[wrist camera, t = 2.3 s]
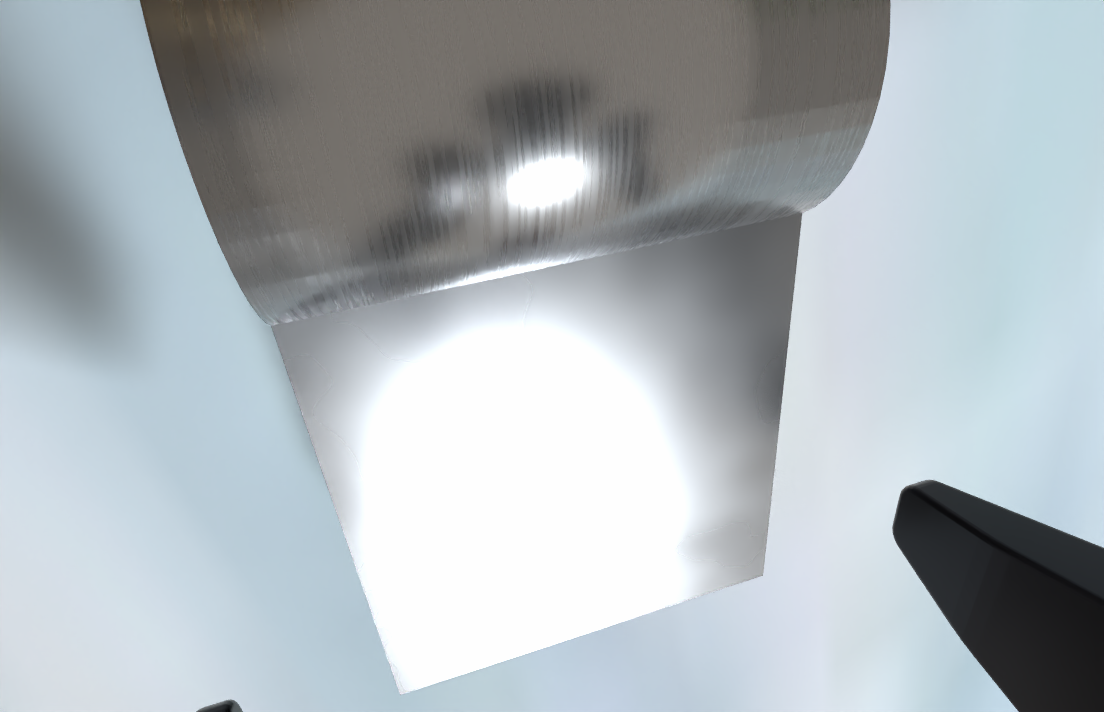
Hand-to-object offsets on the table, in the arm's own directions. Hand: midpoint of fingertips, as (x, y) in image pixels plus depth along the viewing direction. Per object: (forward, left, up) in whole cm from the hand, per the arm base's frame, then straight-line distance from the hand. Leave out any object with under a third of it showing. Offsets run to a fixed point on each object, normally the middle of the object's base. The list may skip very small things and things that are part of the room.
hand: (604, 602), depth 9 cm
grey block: (+3, 0, -4) cm, 5 cm away
